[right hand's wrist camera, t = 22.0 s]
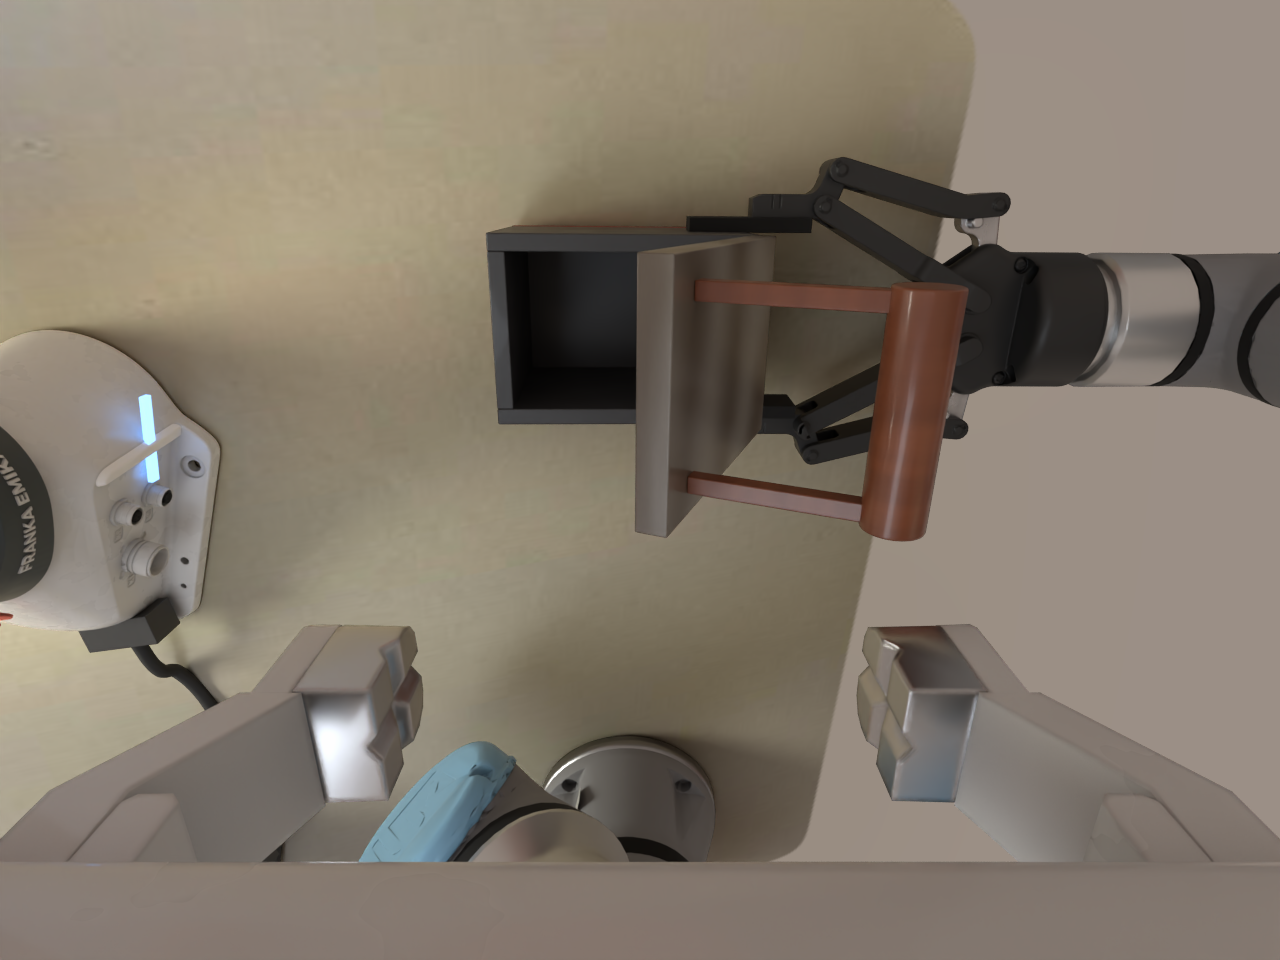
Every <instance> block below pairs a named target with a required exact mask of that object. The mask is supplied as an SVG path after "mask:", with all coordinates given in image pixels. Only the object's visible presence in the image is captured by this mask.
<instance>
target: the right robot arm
mask: <svg viewBox="0 0 1280 960" xmlns="http://www.w3.org/2000/svg"><path fill="white" fill-rule="evenodd" d="M194 460H195V461H197V462H199V464H200V466H201V468H199V467H197V466H196V465H195V463H194ZM219 460H220V447H219V444H218V442H217V441H216V440H215V438H214V437H213V436H212V435H211V434H210V433H208V432H207V431H206V430H205V429H203V428H202V427H201V426H199V425H198V424H196V423H195V422H193V421H192V420H190V419H189V418H187V417H186V416H185V415H183V414H182V413H181V412H180V411H179V410H178V408H177V407H176V406H175V405H174V404H173V402H172V401H171V399H170V398H169V397H168V395H167V394H166V393H165V392H164V390H163V389H162V388H161V386H160V385H159V384H158V383H157V382H156V381H155V380H154V378H153V377H152V376H151V375H150V374H149V373H148V372H146V371H145V370H144V369H143V368H142V367H141V366H140V365H139V364H137V363H136V362H135V361H133V360H132V359H131V358H129V357H128V356H126V355H125V354H123V353H122V352H120V351H119V350H117V349H115V348H113V347H112V346H110V345H108V344H106V343H103V342H101V341H99V340H96V339H94V338H91V337H88V336H85V335H82V334H77V333H73V332H68V331H60V330H38V331H31V332H26V333H23V334H19V335H17V336H14V337H12V338H10V339H8V340H6V341H4V342H3V343H1V344H0V621H1V622H4V623H8V624H12V625H17V626H23V627H29V628H36V629H43V630H54V631H79V633H80V635H81V637H82V639H83V641H84V643H85V645H86V646H87V648H88V650H89V652H90V653H91V652H99V651H107V650H114V649H122V648H130V647H131V648H132V649H133V651H134V652H135V654H136V655H137V657H138V658H139V660H140V661H141V662H142V664H143V665H144V666H145V667H146V668H147V669H148V670H149V671H150V672H151V673H152V674H154V675H155V676H157V677H160V678H167V677H171V676H172V677H174V678H175V679H177V680H178V681H179V682H181V683H182V684H183V685H184V686H185V687H186V688H187V689H189V690H190V692H191V693H192V694H193V695H194V696H195V697H196V699H197V700H198V701H199V702H200V704H201V705H202V707H203V708H204V709H205V711H203V712H201V713H199V714H197V715H195V716H193V717H191V718H190V719H188V720H186V721H184V722H182V723H180V724H178V725H176V726H174V727H172V728H170V729H168V730H166V731H164V732H162V733H160V734H158V735H156V736H154V737H153V738H151V739H149V740H147V741H145V742H143V743H141V744H139V745H137V746H135V747H133V748H131V749H129V750H127V751H125V752H123V753H121V754H119V755H117V756H116V757H114V758H112V759H110V760H108V761H106V762H104V763H102V764H100V765H98V766H96V767H94V768H92V769H90V770H88V771H86V772H84V773H82V774H81V775H79V776H77V777H75V778H73V779H71V780H69V781H67V782H65V783H63V784H61V785H59V786H57V787H55V788H53V789H51V790H49V791H48V792H47V793H46V794H45V795H44V796H43V797H42V798H41V799H40V800H39V801H38V802H37V803H36V804H35V805H34V806H33V807H32V808H31V809H30V810H29V811H28V812H27V813H26V814H25V815H24V816H23V817H22V818H21V819H20V820H19V821H18V822H17V823H16V824H15V825H14V826H13V827H12V828H11V829H10V830H9V831H8V832H7V833H6V834H5V835H4V836H3V837H2V838H1V839H0V960H1280V839H1279V838H1278V837H1277V836H1276V835H1275V834H1274V833H1273V832H1272V831H1271V830H1270V829H1269V828H1268V827H1267V826H1266V825H1265V824H1264V823H1263V822H1262V821H1261V820H1260V819H1259V818H1258V817H1257V816H1256V815H1255V814H1254V813H1253V812H1252V811H1251V810H1250V809H1249V808H1248V807H1247V806H1246V805H1245V804H1244V803H1243V802H1242V801H1241V800H1240V799H1239V798H1238V797H1237V796H1236V795H1235V794H1234V793H1233V792H1232V791H1230V790H1228V789H1226V788H1224V787H1222V786H1220V785H1218V784H1217V783H1215V782H1213V781H1211V780H1209V779H1207V778H1205V777H1203V776H1201V775H1199V774H1197V773H1195V772H1193V771H1191V770H1189V769H1187V768H1185V767H1184V766H1181V765H1180V764H1178V763H1176V762H1174V761H1172V760H1170V759H1168V758H1166V757H1164V756H1162V755H1160V754H1158V753H1156V752H1154V751H1152V750H1151V749H1149V748H1147V747H1145V746H1143V745H1141V744H1139V743H1137V742H1135V741H1133V740H1131V739H1129V738H1127V737H1125V736H1123V735H1121V734H1119V733H1117V732H1116V731H1114V730H1112V729H1110V728H1108V727H1106V726H1104V725H1102V724H1100V723H1098V722H1096V721H1094V720H1092V719H1090V718H1088V717H1086V716H1084V715H1083V714H1081V713H1079V712H1077V711H1075V710H1073V709H1071V708H1069V707H1067V706H1065V705H1063V704H1061V703H1059V702H1057V701H1055V700H1054V699H1052V698H1050V697H1048V696H1046V695H1044V694H1042V693H1029V692H1028V690H1027V689H1026V688H1025V687H1024V686H1023V684H1022V683H1021V682H1020V680H1019V679H1018V678H1017V677H1016V676H1015V674H1014V673H1013V672H1012V671H1011V669H1010V668H1009V667H1008V666H1007V664H1006V663H1005V662H1004V661H1003V659H1002V658H1001V657H1000V656H999V654H998V653H997V652H996V651H995V649H994V648H993V647H992V646H991V644H990V643H989V642H988V641H987V640H986V638H985V637H984V636H983V635H982V633H981V632H980V631H979V630H978V628H976V627H974V626H972V625H970V624H962V625H936V626H905V627H868V629H867V631H866V634H865V636H864V642H863V649H862V652H863V654H864V656H865V658H866V660H867V662H868V664H869V666H868V667H867V668H866V669H865V670H864V671H863V672H862V673H861V674H860V675H859V678H858V687H857V707H858V716H859V720H860V725H861V728H862V731H863V733H864V736H865V738H866V741H867V742H869V743H870V744H872V745H873V746H874V747H876V748H877V749H878V755H877V762H876V765H877V767H878V769H879V772H880V774H881V776H882V779H883V781H884V783H885V786H886V788H887V790H888V792H889V795H890V797H891V799H892V801H922V802H955V806H956V807H957V808H958V809H959V810H960V811H961V812H963V813H964V814H965V815H966V816H967V817H968V818H969V819H971V820H972V821H973V822H974V823H975V824H976V825H977V826H979V827H980V828H981V829H982V830H983V831H984V832H985V833H986V834H988V835H989V836H990V837H991V838H992V839H993V840H994V841H996V842H997V843H998V844H999V845H1000V846H1001V847H1002V848H1004V849H1005V850H1006V851H1007V852H1008V853H1009V854H1010V855H1012V856H1013V857H1014V858H1015V859H1016V860H1017V861H1018V862H280V860H281V848H282V843H284V842H285V841H286V840H287V839H288V838H289V837H290V836H292V835H293V834H294V833H295V832H296V831H297V830H298V829H300V828H301V827H302V826H303V825H304V824H305V823H306V822H308V821H309V820H310V819H311V818H312V817H313V816H314V815H316V814H317V813H318V812H319V811H320V810H321V809H322V808H324V807H325V802H357V801H388V800H389V797H390V795H391V793H392V790H393V788H394V786H395V783H396V781H397V779H398V776H399V774H400V772H401V769H402V767H403V765H404V762H403V755H402V749H403V748H404V747H406V746H407V745H408V744H410V743H411V742H413V741H414V738H415V736H416V733H417V731H418V728H419V726H420V720H421V715H422V709H423V685H422V677H421V675H420V674H419V673H418V672H417V671H416V670H415V669H414V668H413V667H412V666H411V664H412V662H413V660H414V658H415V656H416V654H417V652H418V649H417V643H416V638H415V632H414V631H413V630H412V628H411V627H410V626H375V625H343V626H342V625H309V626H306V627H303V628H302V629H301V631H300V632H299V633H298V634H297V636H296V637H295V638H294V639H293V641H292V642H291V643H290V644H289V646H288V647H287V648H286V649H285V651H284V652H283V653H282V654H281V656H280V657H279V658H278V659H277V661H276V662H275V663H274V664H273V665H272V667H271V668H270V669H269V670H268V672H267V673H266V674H265V675H264V677H263V678H262V679H261V680H260V682H259V683H258V684H257V685H256V687H255V688H254V689H253V690H252V692H251V693H238V694H236V695H234V696H232V697H230V698H228V699H226V700H225V701H223V702H221V703H219V704H217V702H216V701H215V700H214V698H213V697H212V695H211V694H210V693H209V692H208V690H207V689H206V688H205V687H204V686H203V684H202V683H201V682H200V681H199V680H198V679H197V678H196V677H195V676H194V675H193V674H192V673H191V672H190V671H188V670H187V669H186V668H184V667H183V666H181V665H179V664H168V665H165V664H164V663H162V662H161V661H160V660H159V659H158V658H157V657H156V655H155V654H154V652H153V651H152V649H151V648H150V646H149V645H152V644H158V643H159V642H160V641H161V640H162V639H163V638H164V637H166V636H167V635H168V634H169V633H170V632H171V631H172V630H173V629H174V628H175V627H176V626H178V625H179V624H180V621H179V619H181V618H183V617H185V616H187V615H189V614H191V613H192V612H194V611H195V610H196V609H198V607H199V604H200V601H201V594H202V587H203V579H204V572H205V565H206V557H207V550H208V542H209V535H210V527H211V520H212V512H213V505H214V497H215V490H216V482H217V475H218V467H219ZM0 626H1V624H0ZM274 850H277V851H278V853H279V855H278V857H277V859H276V860H275V862H262V861H263V860H264V859H265V858H266V857H268V856H269V855H270V854H271V853H272V852H273V851H274Z"/></svg>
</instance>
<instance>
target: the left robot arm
mask: <svg viewBox="0 0 1280 960" xmlns="http://www.w3.org/2000/svg"><path fill="white" fill-rule="evenodd" d="M843 188H844V189H848V190H851V191H854V192H858V193H861V194H864V195H867V196H871V197H874V198H877V199H880V200H884V201H887V202H890V203H894V204H897V205H900V206H903V207H907V208H910V209H913V210H917V211H920V212H923V213H926V214H930V215H933V216H937V217H944V218H955V219H954V225H955V228H956V230H957V231H958V232H960V233H965V234H967V235H969V236H970V238H971V240H972V245H970V246H969V247H967V248H966V249H964V250H963V251H961V252H960V253H958V254H957V255H955V256H954V257H952V258H951V259H949V260H948V261H946V262H945V263H943V264H941V263H939V262H938V261H936V260H934V259H932V258H930V257H928V256H926V255H924V254H923V253H921V252H919V251H918V250H916V249H915V248H913V247H912V246H910V245H908V244H907V243H905V242H904V241H902V240H901V239H899V238H897V237H896V236H894V235H893V234H891V233H889V232H888V231H886V230H885V229H883V228H882V227H880V226H878V225H877V224H875V223H874V222H872V221H870V220H869V219H867V218H866V217H864V216H863V215H861V214H859V213H858V212H856V211H855V210H853V209H852V208H850V207H848V206H847V205H845V204H844V203H842V202H840V201H839V197H840V195H841V193H842V191H843ZM1010 204H1011V201H1010V198H1009V196H1008V195H1007V194H1005V193H1001V192H999V193H974V194H962V193H959V192H956V191H953V190H950V189H946V188H943V187H940V186H937V185H933V184H930V183H927V182H924V181H920V180H917V179H914V178H911V177H908V176H904V175H901V174H898V173H895V172H891V171H888V170H885V169H882V168H878V167H875V166H872V165H869V164H866V163H862V162H859V161H856V160H853V159H849V158H846V157H840V158H835V159H831V160H828V161H825V162H824V163H823V164H822V166H821V167H820V172H819V177H818V179H817V181H816V184H815V186H814V187H813V189H812V190H811V191H809V192H808V193H806V194H758V195H756V196H753V197H751V198H749V209H748V217H740V216H687V221H686V230H687V231H689V232H747V233H811V229H812V219H814V220H815V221H817V222H818V223H820V224H822V225H823V226H825V227H827V228H828V229H830V230H831V231H833V232H835V233H836V234H838V235H839V236H841V237H843V238H844V239H846V240H847V241H849V242H851V243H852V244H854V245H855V246H857V247H859V248H860V249H862V250H864V251H865V252H867V253H868V254H870V255H872V256H873V257H875V258H876V259H878V260H880V261H881V262H883V263H884V264H886V265H888V266H889V267H891V268H892V269H894V270H896V271H897V272H898V273H899V274H901V275H902V276H904V277H905V278H907V279H909V280H910V281H912V282H931V283H945V284H954V285H961V286H965V287H967V288H968V290H969V292H968V298H967V303H966V309H965V315H964V320H963V326H962V331H961V337H960V343H959V348H958V354H957V360H956V365H955V371H954V376H953V382H952V388H951V393H950V399H949V404H948V410H947V416H946V421H945V427H944V433H943V438H946V439H961V438H963V437H964V436H965V435H966V434H967V432H968V425H967V423H966V422H965V421H963V420H962V418H963V415H964V411H965V407H966V404H967V400H968V396H969V394H972V393H974V392H976V391H978V390H980V389H982V388H986V387H990V386H1063V385H1067V384H1069V385H1072V386H1078V387H1105V386H1182V387H1183V386H1184V387H1210V388H1218V389H1224V390H1229V391H1232V392H1236V393H1239V394H1242V395H1245V396H1248V397H1251V398H1254V399H1257V400H1260V401H1262V402H1265V403H1267V404H1270V405H1272V406H1275V407H1279V408H1280V252H1279V253H1278V254H1199V255H1181V254H1170V253H1091V254H1089V255H1084V254H1081V253H1045V252H1009V251H1007V250H1005V249H1004V248H1002V247H1001V246H999V245H997V239H998V228H999V218H1000V216H1002V215H1004V214H1005V213H1006V212H1007V211H1008V210H1009V208H1010ZM879 368H880V363H879V364H877V365H875V366H873V367H871V368H869V369H867V370H865V371H863V372H861V373H859V374H857V375H855V376H853V377H851V378H849V379H847V380H845V381H843V382H842V383H840V384H838V385H836V386H834V387H832V388H830V389H828V390H826V391H824V392H822V393H820V394H818V395H816V396H814V397H812V398H810V399H808V400H806V401H804V402H802V403H800V404H798V405H796V406H795V405H794V403H793V402H792V401H791V399H790V398H789V397H788V395H787V394H764V400H763V413H762V426H761V430H760V431H759V432H758V433H757V434H789V435H792V436H793V438H794V441H795V447H796V449H797V450H798V452H799V454H800V455H801V457H802V458H803V460H804V461H805V462H806V463H807V464H810V465H812V464H818V463H822V462H826V461H830V460H834V459H839V458H843V457H847V456H851V455H855V454H859V453H863V452H868V448H869V441H870V434H871V426H872V419H873V417H869V418H865V419H861V420H857V421H853V422H849V423H845V424H840V425H836V426H832V427H828V428H825V427H827V426H829V425H831V424H833V423H835V422H837V421H839V420H841V419H843V418H845V417H847V416H849V415H851V414H853V413H855V412H857V411H859V410H861V409H863V408H865V407H867V406H869V405H871V404H873V403H875V397H876V390H877V383H878V376H879ZM823 428H824V429H823ZM714 825H715V805H714V797H713V791H712V787H711V784H710V782H709V779H708V778H707V776H706V774H705V772H704V771H703V770H702V768H701V767H700V766H699V765H698V764H697V763H696V762H695V761H694V760H693V759H692V758H691V757H690V756H688V755H687V754H686V753H684V752H683V751H681V750H679V749H678V748H676V747H674V746H672V745H669V744H667V743H664V742H661V741H658V740H655V739H650V738H645V737H637V736H616V737H608V738H603V739H599V740H596V741H592V742H589V743H587V744H584V745H582V746H580V747H578V748H576V749H574V750H573V751H571V752H570V753H568V754H567V755H565V756H564V757H563V758H562V759H561V760H560V761H558V763H557V764H556V765H555V766H554V767H553V768H552V770H551V771H550V773H549V774H548V776H547V778H546V780H545V782H544V785H543V788H542V787H540V786H539V785H538V784H537V783H536V782H534V781H533V780H532V779H531V778H530V777H529V776H528V775H527V774H526V773H525V772H524V771H523V770H521V769H520V768H519V767H518V766H517V765H516V759H515V758H514V757H513V756H508V755H507V754H505V753H504V752H503V751H502V750H500V749H499V748H498V747H496V746H495V745H494V744H492V743H489V742H485V741H478V742H473V743H469V744H467V745H465V746H462V747H460V748H459V749H457V750H455V751H454V752H452V753H451V754H449V755H448V756H446V757H445V758H444V759H443V760H442V761H440V762H439V763H438V764H436V765H435V766H434V767H433V768H432V769H431V770H430V771H428V772H427V773H426V774H425V775H424V776H423V777H422V778H421V779H420V780H419V781H418V782H417V783H416V784H415V785H414V786H413V787H412V788H411V790H410V791H409V792H408V793H407V794H406V795H405V796H404V797H403V798H402V800H401V801H400V802H399V803H398V804H397V806H396V807H395V808H394V809H393V810H392V812H391V813H390V814H389V815H388V817H387V818H386V819H385V821H384V822H383V823H382V825H381V826H380V828H379V829H378V831H377V832H376V833H375V835H374V836H373V838H372V839H371V841H370V842H369V844H368V846H367V847H366V849H365V851H364V853H363V855H362V857H361V858H360V860H359V861H358V862H706V859H707V856H708V852H709V848H710V844H711V840H712V837H713V832H714Z"/></svg>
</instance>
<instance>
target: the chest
mask: <svg viewBox="0 0 1280 960" xmlns="http://www.w3.org/2000/svg"><path fill="white" fill-rule="evenodd" d="M745 236H760V235H756V234H752V233H747V232H689V231H687V230H686V227H632V226H526V225H514V226H512V227H508V228H504V229H500V230H496V231H492V232H488V233H486V244H487V251H488V252H487V259H488V274H489V289H490V304H491V319H492V334H493V349H494V364H495V379H496V394H497V408H498V423H499V424H636V355H637V254H638V252H642V251H649V250H656V249H663V248H669V247H676V246H683V245H690V244H697V243H704V242H711V241H717V240H724V239H731V238H738V237H745Z"/></svg>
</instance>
